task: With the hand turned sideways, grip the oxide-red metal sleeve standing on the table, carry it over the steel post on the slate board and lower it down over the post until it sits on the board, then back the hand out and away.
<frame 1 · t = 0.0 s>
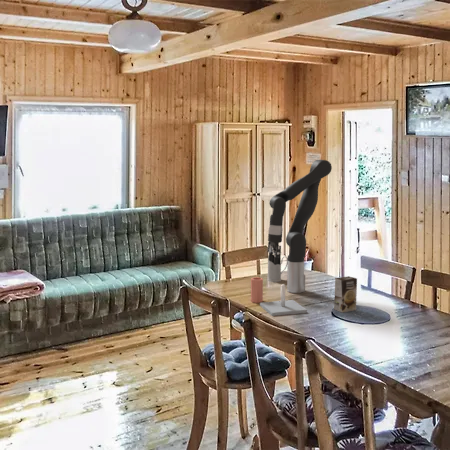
hand: (273, 262, 300), 17 cm above the table, tool pointing down, fingers open, 8 cm apart
coffee box: (345, 310, 270), on the table
sleeve: (256, 301, 286), on the table
post board: (282, 308, 272), on the table
glass holder: (277, 279, 332), on the table
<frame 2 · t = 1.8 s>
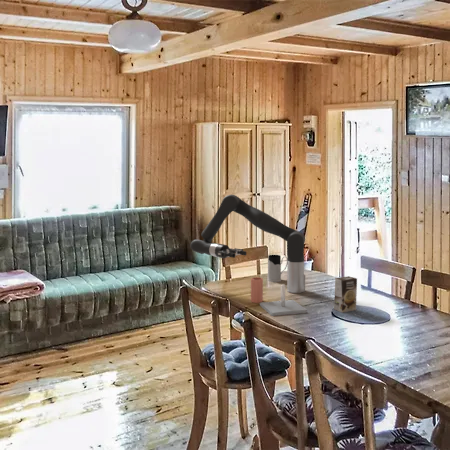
hand: (240, 254, 291), 23 cm above the table, tool horizontal, fingers open, 8 cm apart
nothing on the table moved.
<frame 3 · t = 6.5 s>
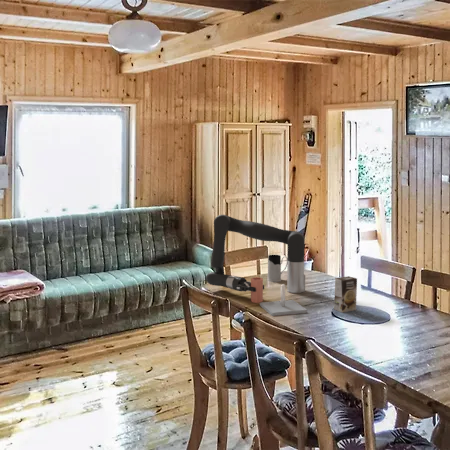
hand: (259, 288, 284), 7 cm above the table, tool horizontal, fingers closed on sleeve, 6 cm apart
sleeve: (256, 301, 286), on the table, touching gripper
everything else where it was.
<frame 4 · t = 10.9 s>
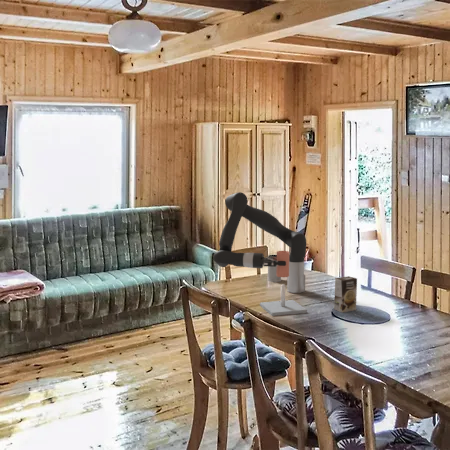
hand: (286, 262, 268), 24 cm above the table, tool horizontal, fingers closed on sleeve, 6 cm apart
sleeve: (282, 275, 270), point 17 cm above the table, touching gripper
everything else where it was.
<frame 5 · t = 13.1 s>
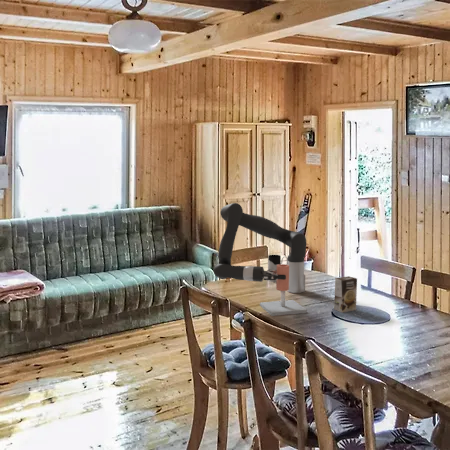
hand: (286, 275, 269), 17 cm above the table, tool horizontal, fingers closed on sleeve, 6 cm apart
sleeve: (282, 289, 271), point 10 cm above the table, touching gripper
everything else where it was.
when the fingers open (10 cm above the table, at t = 15.3 s): sleeve drops 1 cm, resting on post board.
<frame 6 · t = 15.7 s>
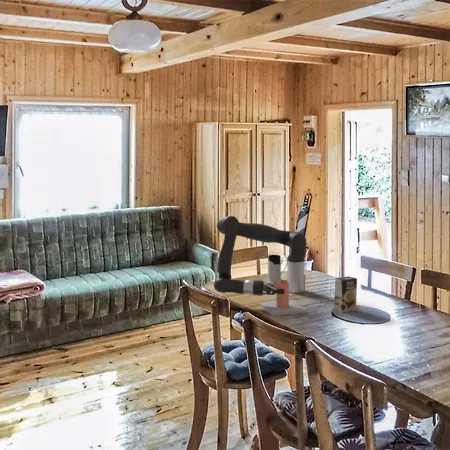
hand: (285, 289, 270), 10 cm above the table, tool horizontal, fingers open, 8 cm apart
sleeve: (282, 306, 272), point 1 cm above the table, touching post board
everything else where it was.
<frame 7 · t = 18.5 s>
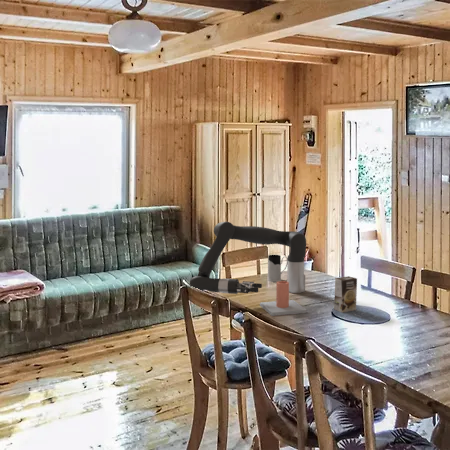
hand: (260, 288, 274), 10 cm above the table, tool horizontal, fingers open, 8 cm apart
nothing on the table moved.
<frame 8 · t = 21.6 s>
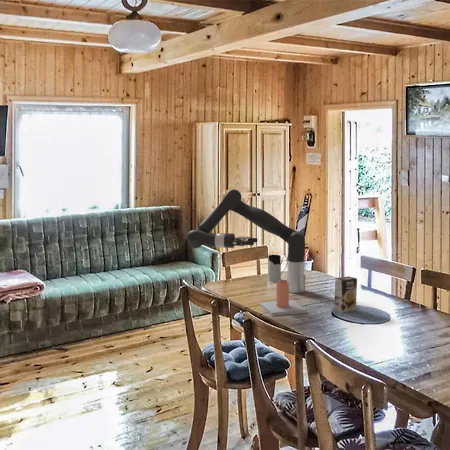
hand: (255, 241, 280), 32 cm above the table, tool horizontal, fingers open, 8 cm apart
nothing on the table moved.
at the end: sleeve 0.1 cm off-centre on the post board, point 1.5 cm above the post board's base; sleeve tilted 0°; the gripper is holding nothing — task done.
